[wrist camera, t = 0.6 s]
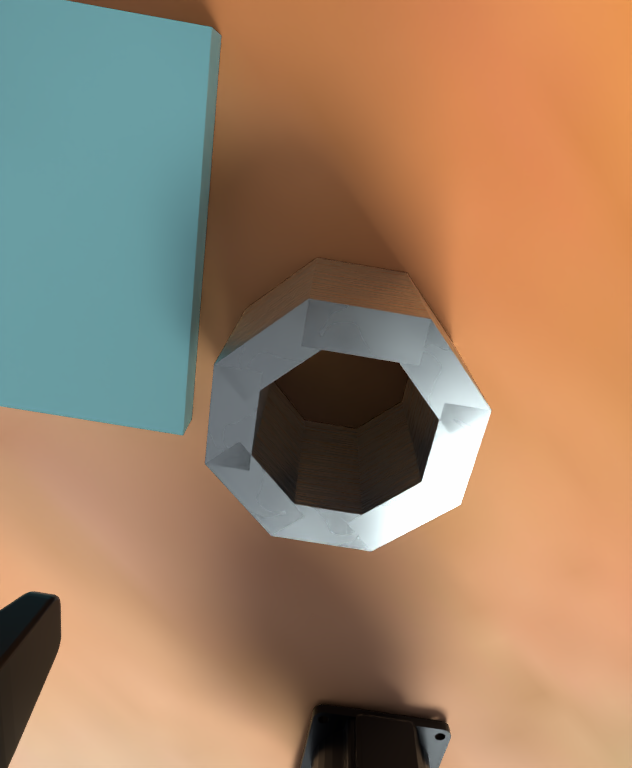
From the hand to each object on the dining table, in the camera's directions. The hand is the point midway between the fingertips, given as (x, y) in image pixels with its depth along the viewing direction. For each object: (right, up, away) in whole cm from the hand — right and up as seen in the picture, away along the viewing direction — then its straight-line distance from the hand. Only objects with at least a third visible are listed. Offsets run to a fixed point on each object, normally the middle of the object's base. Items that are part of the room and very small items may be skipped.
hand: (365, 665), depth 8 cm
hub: (0, +5, +11) cm, 12 cm away
